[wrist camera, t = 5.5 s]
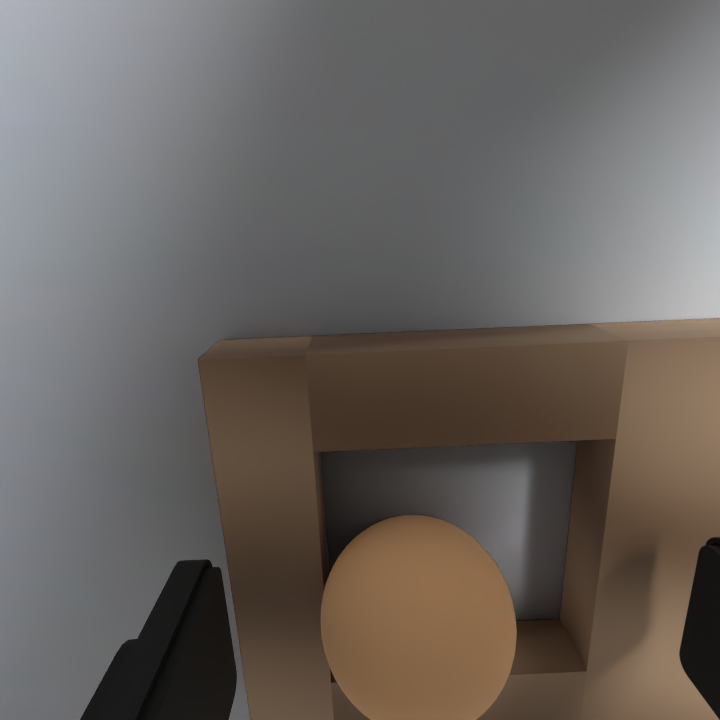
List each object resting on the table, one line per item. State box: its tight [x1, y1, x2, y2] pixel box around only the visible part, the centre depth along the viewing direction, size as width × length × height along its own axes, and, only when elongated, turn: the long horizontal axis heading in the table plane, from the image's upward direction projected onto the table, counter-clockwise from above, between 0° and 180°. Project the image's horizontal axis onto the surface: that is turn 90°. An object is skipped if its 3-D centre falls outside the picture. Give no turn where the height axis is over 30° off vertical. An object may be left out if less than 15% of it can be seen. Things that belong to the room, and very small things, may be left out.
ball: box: [321, 515, 517, 720], centre depth 10 cm, size 4×4×4 cm
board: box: [198, 318, 720, 720], centre depth 11 cm, size 10×22×2 cm, turn 92°
